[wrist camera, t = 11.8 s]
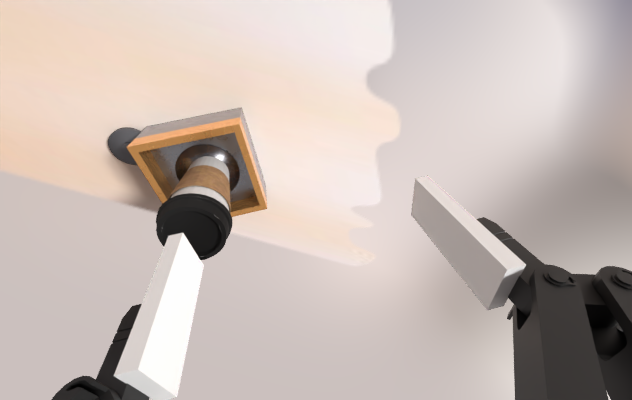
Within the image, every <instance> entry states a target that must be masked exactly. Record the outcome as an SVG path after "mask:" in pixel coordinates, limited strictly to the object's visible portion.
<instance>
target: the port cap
mask: <svg viewBox="0 0 632 400" xmlns="http://www.w3.org/2000/svg"><path fill="white" fill-rule="evenodd" d="M140 133H141V131H139V130H137V129H134V128H120V129H117V130H116V131H115V132H113V133H112V134H111V135H110V137H109V140H108V145H109V148H110V150H111V152H112V153H113V154H114V156H116V157H117V158H118V159H119V160H121V161H123V162H125V163H128V164H132V165H138V164H137V163H136V161H135V160H134V158H133V157H132V155H131V153H130V152H129V150H128V149H127V146H128V145H129V144H130V143H131V142H132V141H133V140H134V139H135V138H136V137H137V136H138V135H139V134H140Z"/></svg>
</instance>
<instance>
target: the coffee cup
mask: <svg viewBox="0 0 632 400" xmlns="http://www.w3.org/2000/svg"><path fill="white" fill-rule="evenodd" d="M156 223H157V229H156V231H157V236H158V238H159V240H160V242H161V243H162V245H163V246H165V243H166V241H167V238H168V236H170V235H174V234H179V233H184V235H185V236H186V238H187V240H188V241H189V243H190V244H191V246H192V248H193V249H194V251H195V252H196V254H197V256H198V257H199V259H200V260H205V259H207V258H210V257H212V256H214V255H215V254H217V253H218V252H219V251H220V250H221V249H222V248H223V247H224V245H225V242H226V239H227V238H228V236H229V234H230V231H231V228H232V217H231V205H230V184H229V170H228V167H227V166H226V164H225V163H224V162H223V161H221V160H220V159H218V158H215V157H211V156H203V157H200V158H198V159H196V160H195V161H194V162H193V163H192V164H191V166H190V167H189V169H188V170H187V172H186V173H185V174H184V176H183V177H182V179H181V180H180V182H179V183H178V184H177V186H176V187H175V189H174V190H173V192H172V193H171V195H170V196H169V197H168V200H167V201H165V202H164V203H163V204H162V206H161V207H160V208H159V211H158V214H157V218H156Z"/></svg>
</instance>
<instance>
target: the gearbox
mask: <svg viewBox="0 0 632 400" xmlns="http://www.w3.org/2000/svg"><path fill="white" fill-rule="evenodd" d="M127 149H128V150H129V152H130V153H131V155H132V157H133V158H134V160H135V161H136V163H137V164H138V166H139V168H140V169H141V171H142V172H143V174H144V176H145V177H146V179H147V180H148V182H149V183H150V185H151V187H152V188H153V190H154V191H155V193H156V194H157V196H158V198H159V199H160V201H161V202H162V204H163V203H164V202H165V201H167V200H168V197H169V196H170V195H171V193H172V192H173V190H174V189H175V187H176V186H177V184H178V183H179V182H180V180H181V179H182V177H183V176H184V174H185V173H186V172H187V170H188V169H189V167H190V166H191V164H192V163H193V162H194V161H195V160H196V159H198V158H200V157H203V156H211V157H215V158H218V159H220V160H221V161H223V162H224V163H225V164H226V166H227V167H228V170H229V184H230V205H231V217H233V216H238V215H242V214H246V213H251V212H255V211H259V210H264V209H267V199H266V185H265V181H264V178H263V175H262V172H261V168H260V165H259V162H258V159H257V155H256V152H255V149H254V146H253V143H252V139H251V136H250V133H249V130H248V126H247V123H246V120H245V117H244V113H243V110H242V108H237V109H232V110H227V111H222V112H217V113H212V114H207V115H202V116H197V117H192V118H187V119H182V120H177V121H172V122H167V123H162V124H157V125H152V126H147V127H146V128H145V129H144V130H143V131H142V132H141V133H140V134H139V135H138V136H137V137H136V138H135V139H134V140H133V141H132V142H131V143H130V144H129V145H128V146H127Z"/></svg>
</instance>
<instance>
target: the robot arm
mask: <svg viewBox="0 0 632 400" xmlns="http://www.w3.org/2000/svg"><path fill="white" fill-rule="evenodd" d="M411 215H412V216H413V218H414V219H415V220H416V221H417V223H418V224H419V225H420V227H421V228H422V229H423V230H424V232H425V233H426V234H427V235H428V237H430V239H431V240H432V242H433V243H434V244H435V245H436V247H437V248H438V249H439V250H440V252H441V253H442V254H443V255H444V257H445V258H446V259H447V260H448V262H449V263H450V264H451V265H452V267H453V268H454V269H455V270H456V272H457V273H458V274H459V275H460V276H461V278H462V279H463V280H464V282H465V283H466V284H467V285H468V287H469V288H470V289H471V290H472V292H473V293H474V294H475V296H477V298H478V299H479V300H480V302H481V303H482V304H483V306H484V307H485V308H486V309H487V310H490V309H494V308H497V307H501V306H504V304H505V302H506V301H507V299H508V298H509V299H510V300H511V301H512V302H513V303H514V305H513V307H512V309H511V310H510V312H509V314H508V317H507V319H509V320H510V319H511V317H512V316H513V343H514V376H515V400H608V396H607V392H608V395H609V396H610V399H611V400H632V272H631V271H629V270H626V269H624V268H619V267H615V266H607V267H604V268H601V269H600V270H599V272H598V273H597V274H596V275H588V274H571V273H569V272H568V271H566V270H564V269H562V268H560V267H557V266H553V265H545V264H544V263H542V262H541V261H540V260H538V259H537V258H536V257H535V256H534V255H532V254H531V253H530V252H529V251H528V250H527V249H526V248H524V247H523V246H522V245H521V244H520V243H518V242H517V241H516V240H515V239H513V238H512V237H511V236H510V235H509V234H508V233H505V231H504V230H503V229H502V228H501V227H500V226H498V225H497V224H496V223H494V222H492V221H490V220H488V219H486V218H484V217H483V218H479V219H475V218H474V217H473V216H472V215H471V214H470V213H469V212H468V211H467V210H465V209H464V208H463V207H462V206H461V205H460V204H459V203H458V202H457V201H455V200H454V199H453V198H452V197H451V196H450V195H449V194H448V193H447V192H446V191H444V190H443V189H442V188H441V187H440V186H439V185H438V184H437V183H436V182H434V181H433V180H432V179H431V178H430V177H429V176H428V175H427V176H423V177H419V178H416V179H415V185H414V194H413V203H412V213H411ZM203 267H204V265H203V264H202V262H201V260H200V259H199V257H198V256H197V254H196V252H195V251H194V249H193V248H192V246H191V244H190V243H189V241H188V240H187V238H186V236H185V235H184V233H179V234H174V235H170V236H168V238H167V241H166V243H165V246H164V248H163V251H162V254H161V256H160V259H159V261H158V264H157V266H156V269H155V271H154V274H153V277H152V279H151V282H150V284H149V287H148V290H147V292H146V294H145V297H144V300H143V302H142V304H139V305H135V306H132V307H131V308H130V310H129V311H128V312H127V313H126V315H125V316H124V317H123V319H122V321H121V323H120V325H119V328H118V330H117V333H116V335H115V337H114V339H113V344H111V346H110V348H109V351H108V353H107V355H106V358H105V360H104V362H103V365H102V367H101V369H100V371H99V374H98V376H97V378H96V380H95V379H93V378H92V377H90V376H82V377H79V378H76V379H74V380H72V381H71V382H69V383H68V384H66V385H65V386H64V387H63V388H62V389H61V390H60V391H59V392H57V393H56V395H55V396H54V397H53V399H52V400H149V398H150V399H152V400H169V399H172V398H176V397H177V395H178V390H179V385H180V380H181V375H182V370H183V365H184V360H185V355H186V350H187V345H188V341H189V336H190V331H191V326H192V321H193V316H194V311H195V306H196V301H197V296H198V291H199V286H200V281H201V276H202V271H203ZM606 391H607V392H606Z"/></svg>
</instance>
